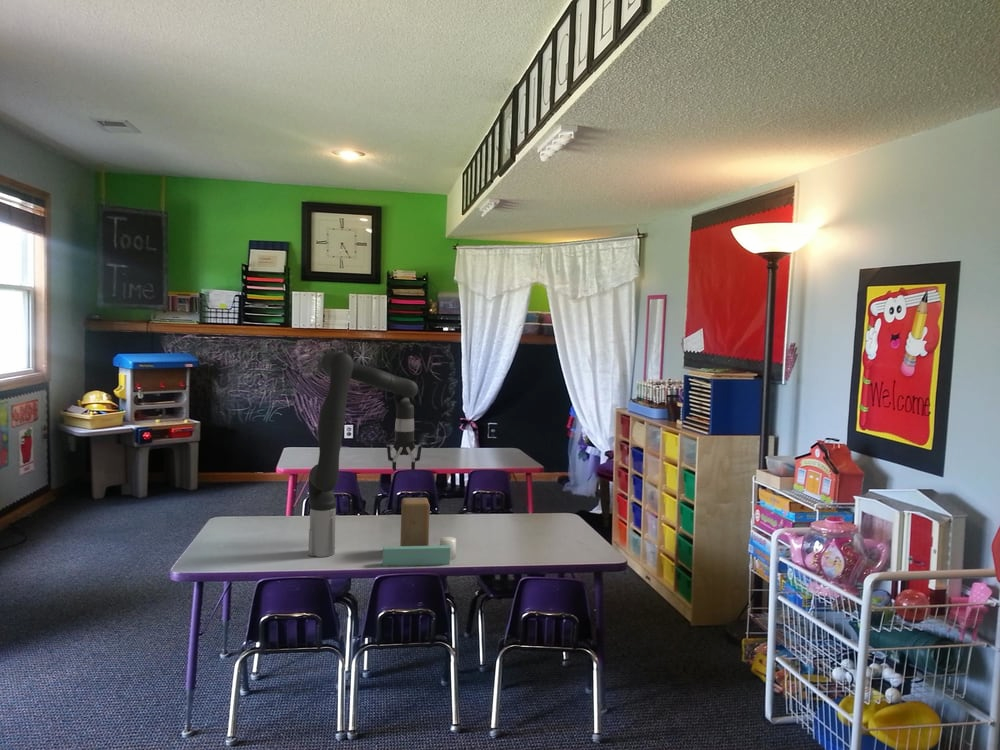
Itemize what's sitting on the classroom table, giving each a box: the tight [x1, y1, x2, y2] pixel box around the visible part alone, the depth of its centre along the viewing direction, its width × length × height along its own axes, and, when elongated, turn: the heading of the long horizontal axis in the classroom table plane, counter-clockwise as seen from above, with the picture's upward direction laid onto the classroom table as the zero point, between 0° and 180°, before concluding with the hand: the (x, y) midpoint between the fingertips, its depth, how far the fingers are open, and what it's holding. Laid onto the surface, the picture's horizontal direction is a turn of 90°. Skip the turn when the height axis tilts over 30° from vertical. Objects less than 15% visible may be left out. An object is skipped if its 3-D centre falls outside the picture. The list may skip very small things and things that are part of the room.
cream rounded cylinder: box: [439, 536, 457, 561], centre depth 259 cm, size 6×6×7 cm
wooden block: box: [399, 497, 431, 546], centre depth 263 cm, size 10×10×20 cm
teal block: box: [381, 545, 451, 567], centre depth 251 cm, size 24×3×6 cm, turn 100°
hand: (403, 471), depth 278 cm, fingers open, 6 cm apart
